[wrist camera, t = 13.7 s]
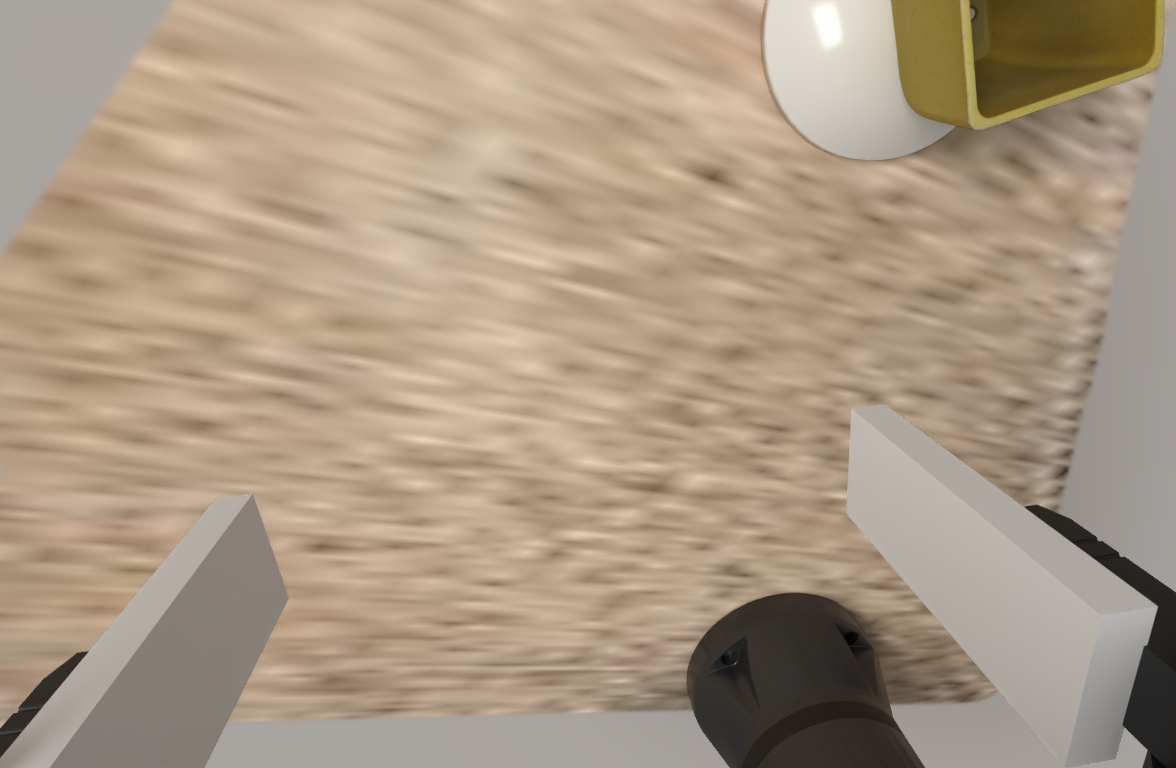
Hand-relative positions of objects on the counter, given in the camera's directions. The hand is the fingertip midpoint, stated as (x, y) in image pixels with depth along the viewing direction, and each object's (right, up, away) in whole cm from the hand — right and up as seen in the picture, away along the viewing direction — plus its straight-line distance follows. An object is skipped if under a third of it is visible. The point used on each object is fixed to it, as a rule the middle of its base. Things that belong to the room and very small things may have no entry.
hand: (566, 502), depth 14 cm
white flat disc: (+17, +23, +22) cm, 36 cm away
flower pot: (+20, +22, +21) cm, 36 cm away
